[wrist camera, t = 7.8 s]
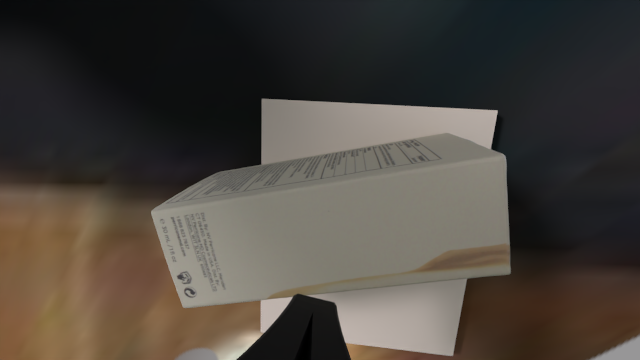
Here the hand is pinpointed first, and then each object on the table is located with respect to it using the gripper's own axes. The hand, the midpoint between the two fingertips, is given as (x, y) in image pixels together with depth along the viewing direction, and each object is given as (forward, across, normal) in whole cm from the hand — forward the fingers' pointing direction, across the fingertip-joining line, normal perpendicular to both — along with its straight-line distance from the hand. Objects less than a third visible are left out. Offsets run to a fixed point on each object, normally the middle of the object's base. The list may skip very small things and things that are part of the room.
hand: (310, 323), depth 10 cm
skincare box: (+4, +6, 0) cm, 7 cm away
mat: (+8, -2, 0) cm, 8 cm away
